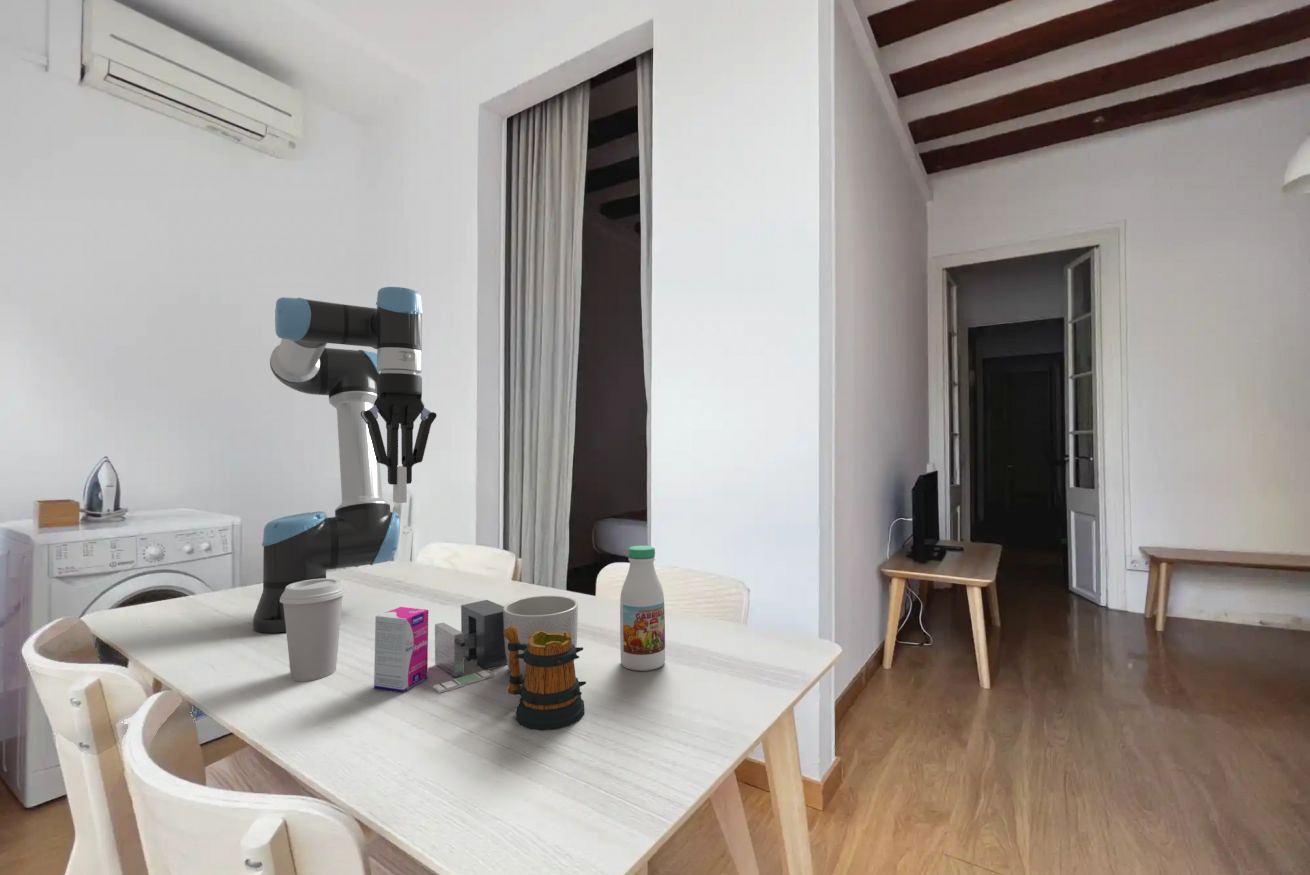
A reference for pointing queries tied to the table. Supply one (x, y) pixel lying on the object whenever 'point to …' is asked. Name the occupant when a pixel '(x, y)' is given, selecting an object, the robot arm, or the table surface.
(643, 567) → the milk bottle
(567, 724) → the mug
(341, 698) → the table surface
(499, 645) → the box
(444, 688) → the strip
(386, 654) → the supplement box
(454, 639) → the grey block with crossbar
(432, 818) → the table surface
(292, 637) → the coffee cup
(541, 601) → the planter
